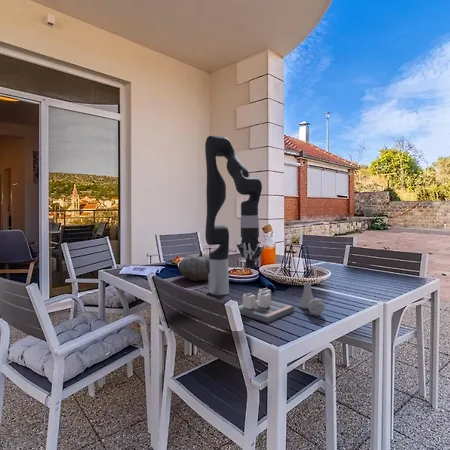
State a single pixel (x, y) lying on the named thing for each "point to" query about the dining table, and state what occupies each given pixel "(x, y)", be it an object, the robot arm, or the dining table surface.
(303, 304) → the flask
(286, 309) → the square grey tray
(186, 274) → the gourd
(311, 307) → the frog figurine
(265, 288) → the breaker
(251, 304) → the breaker
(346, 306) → the dining table surface
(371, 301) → the dining table surface
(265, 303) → the tripped breaker
